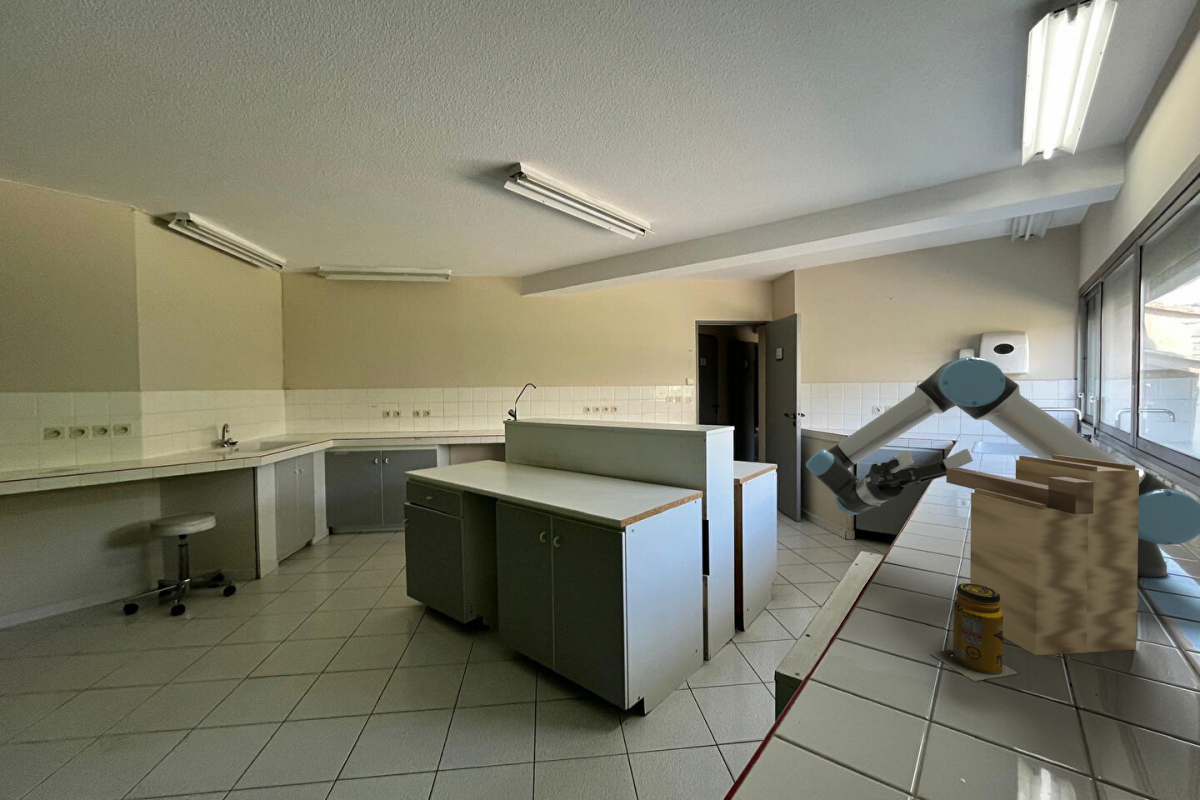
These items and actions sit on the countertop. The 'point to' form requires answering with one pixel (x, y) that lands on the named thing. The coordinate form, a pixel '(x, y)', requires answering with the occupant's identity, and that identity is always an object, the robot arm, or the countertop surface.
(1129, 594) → the notch post
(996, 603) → the condiment
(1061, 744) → the countertop surface
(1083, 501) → the frame bar
